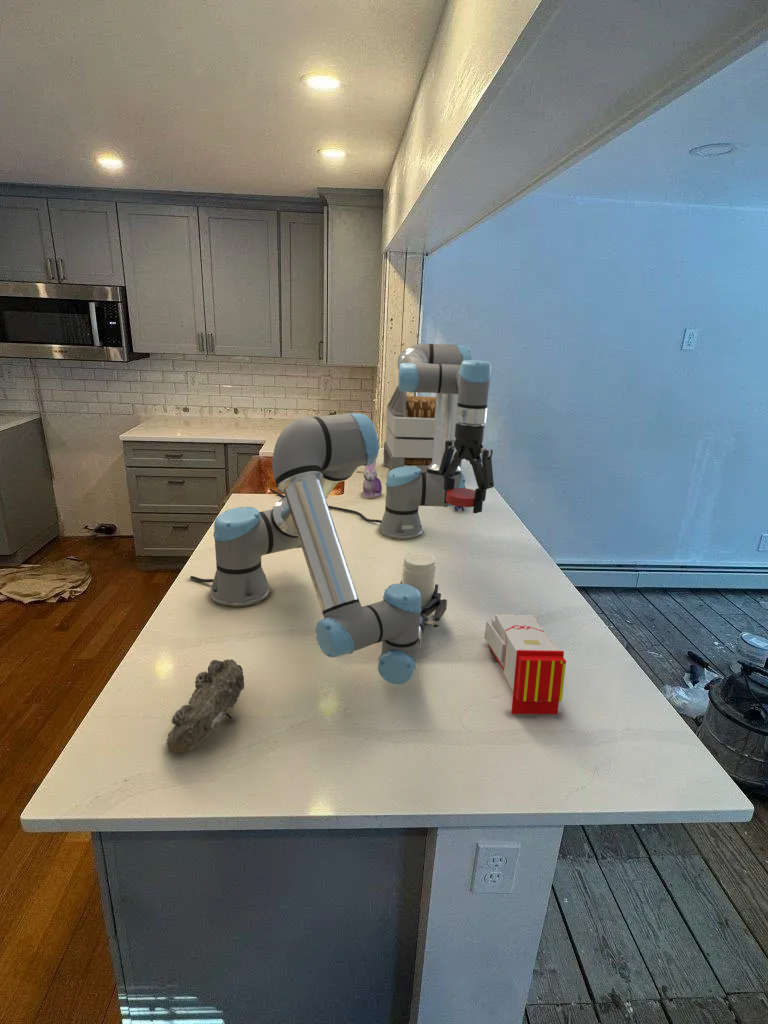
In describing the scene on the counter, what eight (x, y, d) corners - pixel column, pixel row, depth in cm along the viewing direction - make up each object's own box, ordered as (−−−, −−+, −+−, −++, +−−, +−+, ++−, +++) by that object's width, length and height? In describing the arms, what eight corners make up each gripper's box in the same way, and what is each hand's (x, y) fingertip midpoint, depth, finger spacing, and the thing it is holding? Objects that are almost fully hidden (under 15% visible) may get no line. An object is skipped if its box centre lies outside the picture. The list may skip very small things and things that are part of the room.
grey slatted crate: (382, 463, 289) (386, 382, 275) (445, 464, 293) (451, 384, 279) (390, 482, 257) (394, 392, 243) (460, 483, 261) (468, 394, 247)
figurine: (366, 499, 233) (368, 464, 228) (356, 492, 241) (357, 458, 236) (387, 497, 237) (388, 462, 232) (376, 490, 246) (377, 456, 241)
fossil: (192, 660, 117) (244, 628, 112) (224, 691, 120) (276, 661, 115) (142, 746, 98) (202, 712, 93) (182, 779, 101) (242, 748, 96)
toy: (530, 600, 137) (574, 657, 108) (525, 651, 140) (567, 720, 111) (480, 599, 137) (511, 656, 107) (477, 651, 139) (506, 719, 110)
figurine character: (468, 516, 224) (463, 500, 237) (471, 498, 221) (465, 483, 234) (452, 515, 224) (447, 499, 237) (453, 498, 220) (449, 482, 234)
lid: (470, 495, 156) (471, 487, 155) (486, 505, 148) (487, 497, 147) (440, 497, 153) (440, 489, 152) (455, 508, 145) (456, 499, 144)
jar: (401, 625, 142) (405, 565, 136) (397, 609, 150) (401, 551, 144) (433, 625, 143) (438, 565, 137) (428, 609, 151) (433, 552, 145)
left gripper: (360, 639, 130) (379, 594, 152) (451, 653, 127) (458, 604, 148) (361, 611, 128) (380, 569, 149) (454, 623, 125) (461, 578, 146)
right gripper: (428, 418, 149) (422, 499, 156) (497, 432, 134) (487, 521, 141) (447, 415, 153) (440, 494, 161) (515, 429, 139) (504, 515, 146)
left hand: (419, 586), depth 149 cm, fingers closed on jar, 8 cm apart
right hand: (462, 507), depth 151 cm, fingers closed on lid, 9 cm apart
